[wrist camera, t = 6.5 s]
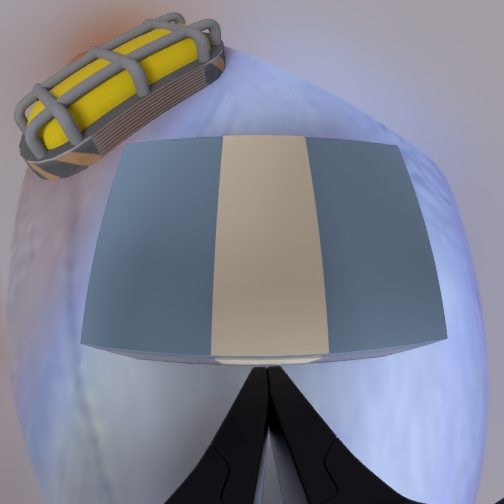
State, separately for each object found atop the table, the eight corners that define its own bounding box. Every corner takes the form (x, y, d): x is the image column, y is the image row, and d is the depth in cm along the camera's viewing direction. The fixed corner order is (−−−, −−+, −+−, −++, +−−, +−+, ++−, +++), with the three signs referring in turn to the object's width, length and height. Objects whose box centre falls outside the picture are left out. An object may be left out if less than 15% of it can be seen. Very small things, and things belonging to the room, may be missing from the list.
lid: (437, 341, 13) (448, 338, 12) (90, 346, 13) (79, 343, 12) (392, 155, 18) (397, 144, 17) (130, 154, 18) (125, 143, 17)
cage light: (-4, 112, 22) (176, 4, 31) (23, 150, 30) (182, 44, 39) (12, 156, 18) (246, 17, 27) (52, 203, 25) (247, 66, 34)
